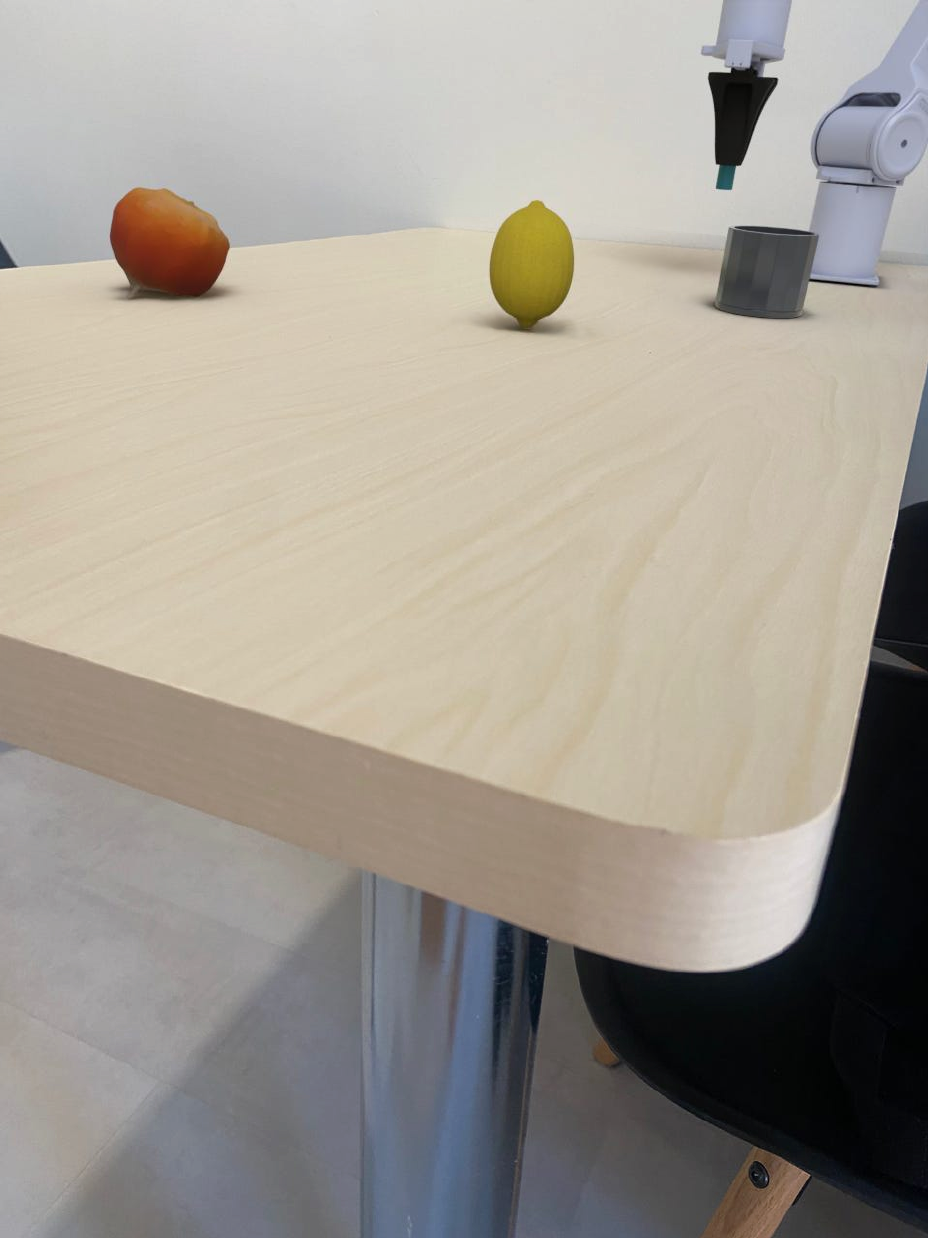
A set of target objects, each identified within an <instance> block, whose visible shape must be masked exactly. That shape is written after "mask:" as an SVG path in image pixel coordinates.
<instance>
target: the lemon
mask: <svg viewBox="0 0 928 1238" xmlns="http://www.w3.org/2000/svg"><path fill="white" fill-rule="evenodd" d="M574 271H575V250H574V243H573V239H572V234H571V232H570V230H569V227H568V226H567V224H566V222H565V221H564V220H563V219H562V217H561V216H559V215H558V213H556V212H555V211H553V210H552V209H549V208H548V207H547V206H546V205H545V203H544V202H543V201H542V200H538V199H536V200H531V201H530V202H529V204H528V205H527V206H524V207H522V208H520V209H518V210H516V211H514V212H513V213H511V214H510V215H509V216H508V217H507V218H506V219H505V220H504V221H503V222H502V224H501V225H500V227H499V228H498V231H497V232H496V235H495V238H494V241H493V245H492V248H491V253H490V259H489V283H490V288H491V292H492V294H493V297H494V299H495V301H496V302H497V304H498V305H499V307H500V308H501V309H502V310H503V311H504V312H505V313H506V314H508V315H509V316H511V317H512V318H514V319H515V320H516V322H517V324H518V325H519V326H520V327H521V329H524V330H529V329H533V328H534V326H535V325H536V324H537V323H538V322H540V320H543V319H545V318H547V317H549V316H551V315H552V314H554V313H555V312H556V311H558V309H559V308H561V306H562V305H563V304H564V302H565V300H566V299H567V296H568V295H569V292H570V289H571V287H572V282H573V278H574Z"/></svg>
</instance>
